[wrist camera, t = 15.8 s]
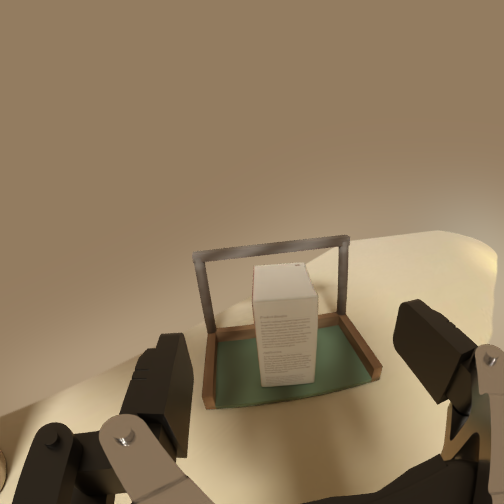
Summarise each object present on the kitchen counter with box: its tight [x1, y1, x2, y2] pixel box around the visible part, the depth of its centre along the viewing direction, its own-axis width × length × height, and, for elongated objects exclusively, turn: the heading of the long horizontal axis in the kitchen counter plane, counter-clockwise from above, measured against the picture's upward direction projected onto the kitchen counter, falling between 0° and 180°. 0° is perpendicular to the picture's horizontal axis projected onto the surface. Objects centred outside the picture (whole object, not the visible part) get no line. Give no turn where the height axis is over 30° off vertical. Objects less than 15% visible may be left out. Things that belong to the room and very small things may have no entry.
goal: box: [192, 235, 383, 409], centre depth 28 cm, size 18×12×12 cm, turn 94°
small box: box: [252, 262, 318, 387], centre depth 27 cm, size 8×6×10 cm
